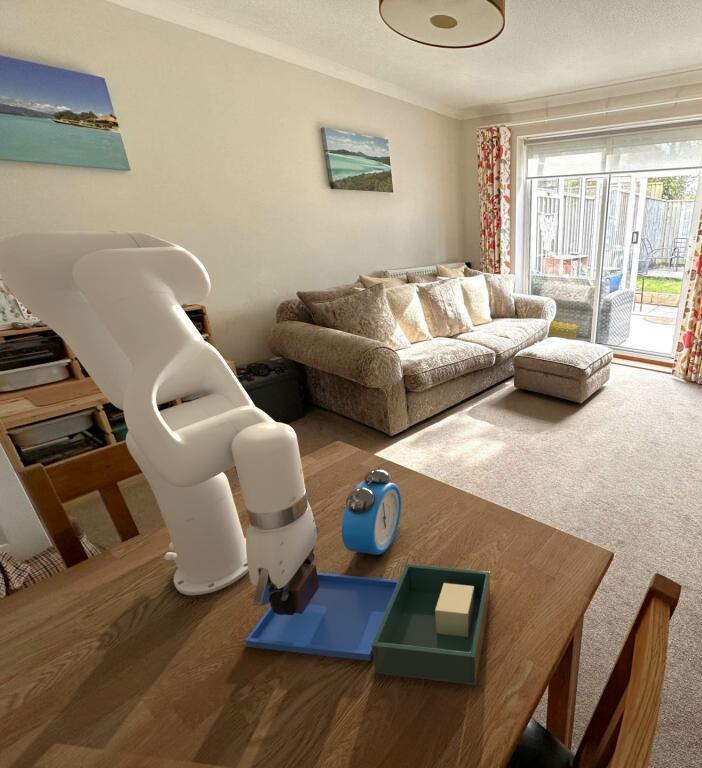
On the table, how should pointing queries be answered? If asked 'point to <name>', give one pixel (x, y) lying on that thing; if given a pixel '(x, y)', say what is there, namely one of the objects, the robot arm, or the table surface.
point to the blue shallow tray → (330, 619)
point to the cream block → (455, 610)
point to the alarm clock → (372, 514)
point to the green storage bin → (430, 628)
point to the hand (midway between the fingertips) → (295, 595)
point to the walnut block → (303, 586)
